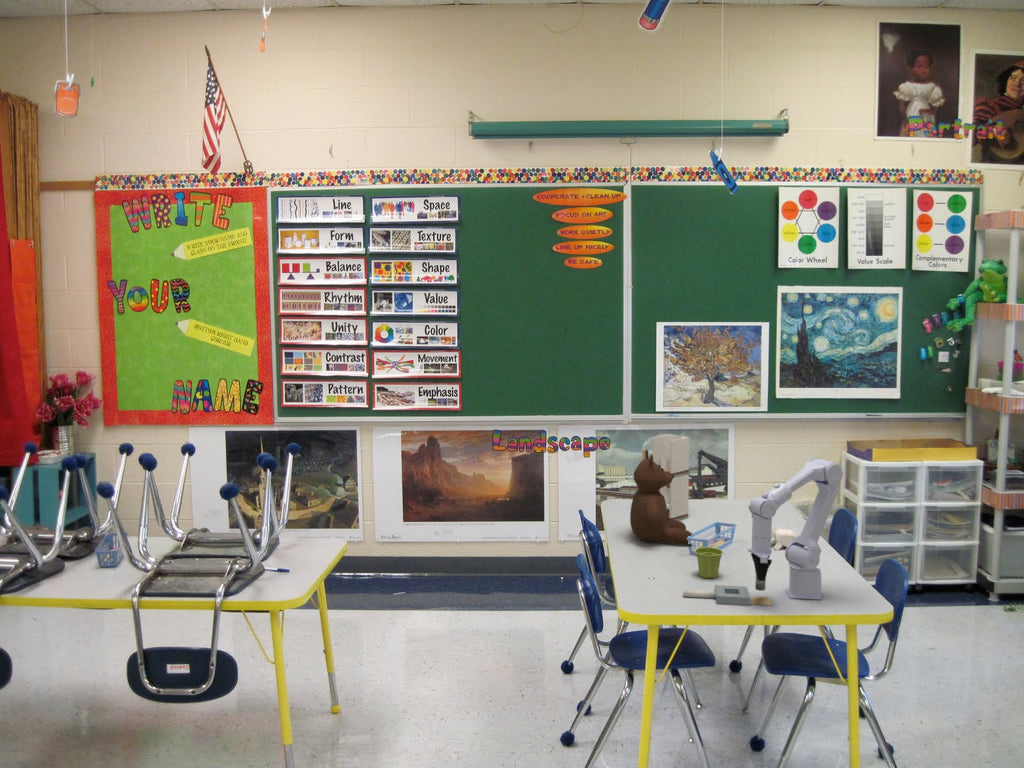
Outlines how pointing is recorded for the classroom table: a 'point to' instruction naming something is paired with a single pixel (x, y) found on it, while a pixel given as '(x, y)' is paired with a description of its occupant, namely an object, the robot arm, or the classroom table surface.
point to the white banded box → (674, 472)
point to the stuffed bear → (654, 507)
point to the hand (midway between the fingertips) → (760, 578)
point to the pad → (760, 601)
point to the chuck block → (723, 595)
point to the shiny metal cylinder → (760, 584)
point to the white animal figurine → (782, 537)
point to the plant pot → (708, 561)
